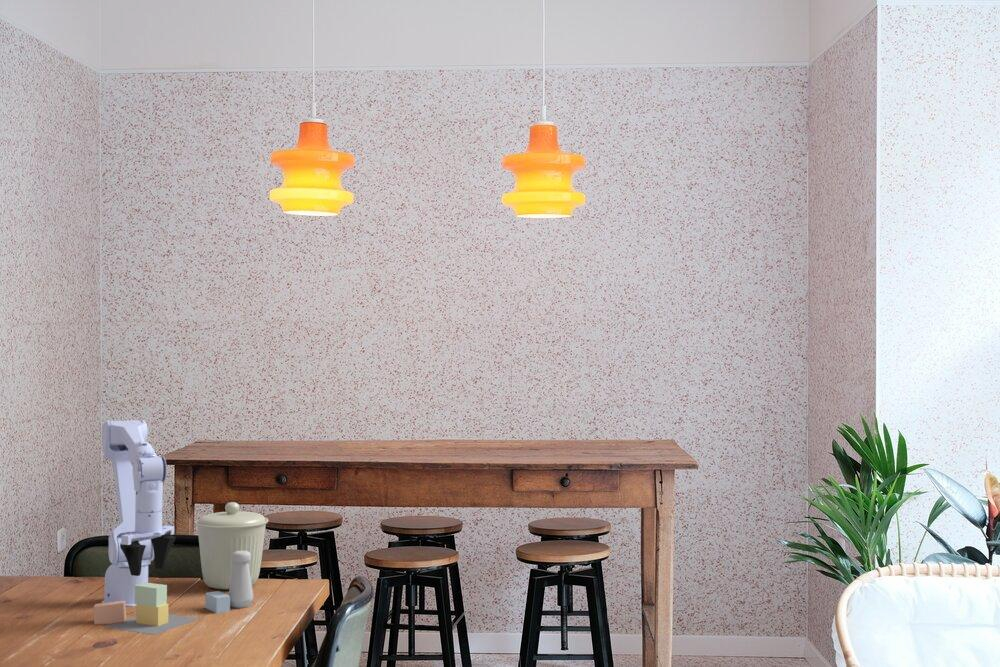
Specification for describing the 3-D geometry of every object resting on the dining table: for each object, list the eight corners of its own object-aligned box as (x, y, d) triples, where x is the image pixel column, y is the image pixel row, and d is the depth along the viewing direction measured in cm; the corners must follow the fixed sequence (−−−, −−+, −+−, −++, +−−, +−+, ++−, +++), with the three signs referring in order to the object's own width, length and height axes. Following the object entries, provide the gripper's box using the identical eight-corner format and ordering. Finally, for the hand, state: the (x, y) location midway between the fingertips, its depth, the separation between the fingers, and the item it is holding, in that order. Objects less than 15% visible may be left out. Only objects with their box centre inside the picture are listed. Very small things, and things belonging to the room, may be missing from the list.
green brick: (134, 604, 215) (134, 585, 215) (145, 600, 218) (145, 582, 218) (156, 607, 213) (156, 588, 213) (166, 603, 216) (167, 585, 216)
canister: (228, 597, 240) (230, 510, 241) (178, 587, 250) (179, 503, 250) (282, 583, 255) (283, 501, 256) (232, 574, 265) (234, 495, 265)
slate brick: (205, 610, 228) (205, 593, 228) (218, 608, 230) (218, 591, 231) (216, 616, 224) (216, 598, 224) (229, 613, 226) (230, 596, 226)
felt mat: (103, 629, 212) (103, 626, 212) (149, 613, 225) (149, 611, 225) (154, 637, 206) (154, 634, 206) (199, 620, 219) (199, 618, 219)
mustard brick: (136, 622, 215) (136, 604, 215) (146, 619, 218) (147, 600, 218) (157, 626, 213) (158, 607, 213) (168, 622, 216) (168, 603, 216)
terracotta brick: (94, 625, 214) (93, 606, 214) (96, 622, 217) (95, 603, 217) (124, 621, 215) (123, 603, 216) (126, 618, 218) (124, 600, 219)
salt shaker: (246, 611, 227) (247, 554, 228) (223, 610, 228) (224, 553, 229) (257, 605, 233) (258, 549, 233) (234, 603, 234) (235, 548, 234)
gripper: (139, 516, 215) (138, 580, 214) (185, 507, 228) (184, 567, 228) (114, 514, 217) (113, 577, 217) (160, 505, 231) (159, 564, 230)
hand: (147, 571), depth 223 cm, fingers open, 7 cm apart
